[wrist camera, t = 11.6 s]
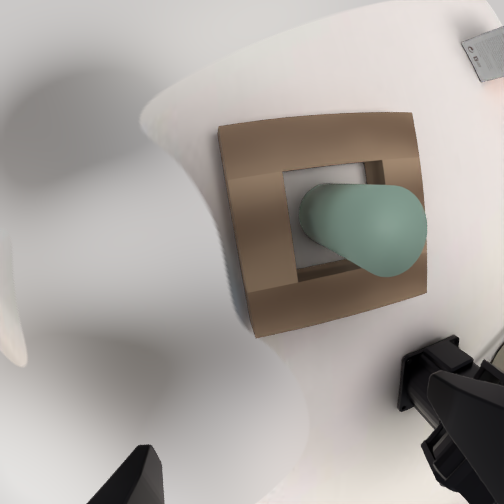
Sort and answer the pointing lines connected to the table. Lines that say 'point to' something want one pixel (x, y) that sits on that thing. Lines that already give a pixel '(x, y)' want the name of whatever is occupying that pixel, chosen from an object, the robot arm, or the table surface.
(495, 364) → the travel mug
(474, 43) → the skincare box
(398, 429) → the table surface
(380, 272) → the green peg
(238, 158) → the walnut holder
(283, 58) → the table surface
